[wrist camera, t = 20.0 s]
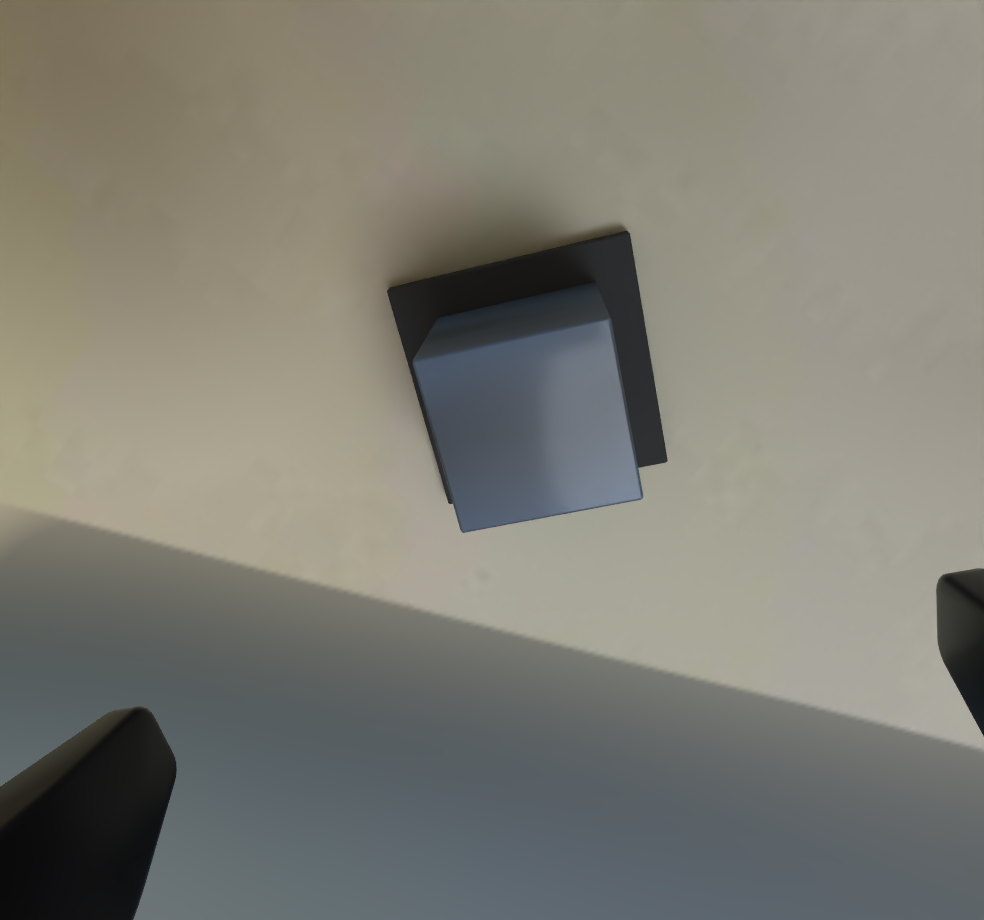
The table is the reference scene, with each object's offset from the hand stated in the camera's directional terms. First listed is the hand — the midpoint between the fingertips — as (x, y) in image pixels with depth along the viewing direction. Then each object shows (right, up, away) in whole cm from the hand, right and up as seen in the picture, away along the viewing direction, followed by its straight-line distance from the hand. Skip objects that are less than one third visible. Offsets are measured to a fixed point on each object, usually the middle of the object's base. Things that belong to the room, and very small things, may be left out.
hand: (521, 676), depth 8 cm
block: (+1, +5, +11) cm, 12 cm away
